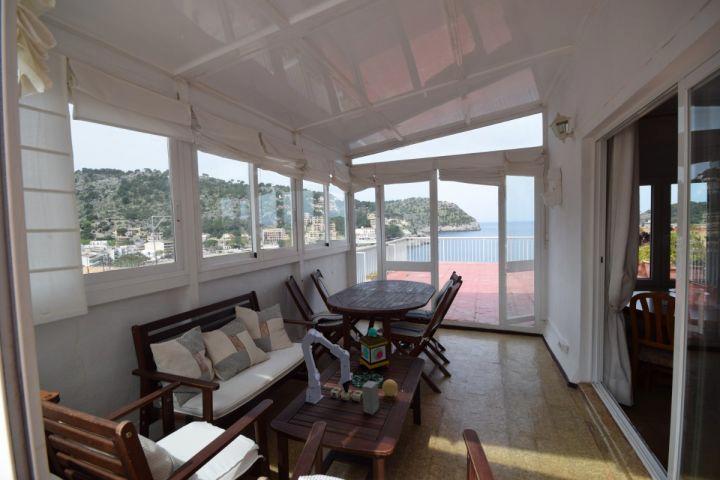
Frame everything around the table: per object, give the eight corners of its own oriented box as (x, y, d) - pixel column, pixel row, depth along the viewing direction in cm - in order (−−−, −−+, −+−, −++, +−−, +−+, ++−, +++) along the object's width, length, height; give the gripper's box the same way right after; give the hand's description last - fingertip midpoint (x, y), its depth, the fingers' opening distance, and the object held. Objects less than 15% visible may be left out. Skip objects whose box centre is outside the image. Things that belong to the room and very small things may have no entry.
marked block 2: (359, 401, 196) (359, 395, 196) (352, 399, 199) (352, 393, 198) (363, 397, 200) (363, 391, 200) (356, 395, 203) (356, 389, 203)
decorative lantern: (356, 364, 247) (355, 326, 245) (378, 358, 256) (376, 321, 254) (369, 374, 229) (367, 334, 227) (392, 367, 239) (390, 329, 237)
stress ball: (390, 402, 196) (402, 390, 196) (379, 390, 196) (391, 378, 197) (389, 396, 206) (400, 385, 206) (378, 384, 206) (389, 373, 207)
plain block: (348, 400, 198) (347, 394, 198) (341, 399, 200) (341, 392, 200) (352, 396, 202) (351, 390, 202) (345, 395, 205) (345, 389, 204)
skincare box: (373, 415, 182) (371, 388, 181) (362, 411, 185) (361, 385, 184) (379, 407, 189) (378, 382, 188) (369, 404, 193) (368, 379, 192)
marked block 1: (337, 398, 201) (337, 392, 200) (330, 396, 203) (330, 390, 203) (341, 394, 205) (341, 388, 205) (335, 392, 208) (334, 386, 207)
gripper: (344, 377, 192) (345, 398, 193) (356, 367, 204) (357, 387, 205) (335, 375, 195) (336, 396, 196) (347, 365, 208) (348, 384, 209)
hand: (346, 391), depth 201 cm, fingers closed
